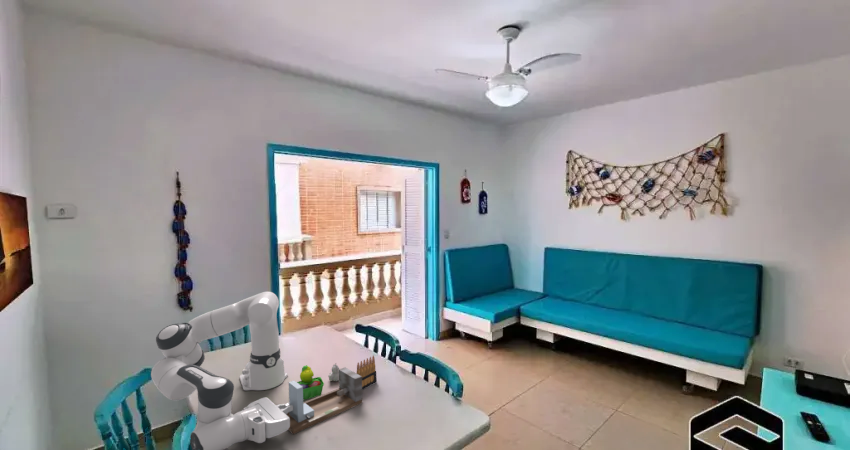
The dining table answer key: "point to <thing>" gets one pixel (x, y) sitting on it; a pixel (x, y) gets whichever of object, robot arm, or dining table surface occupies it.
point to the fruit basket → (310, 383)
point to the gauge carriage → (298, 403)
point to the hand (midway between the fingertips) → (291, 406)
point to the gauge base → (332, 401)
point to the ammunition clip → (367, 372)
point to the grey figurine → (334, 373)
